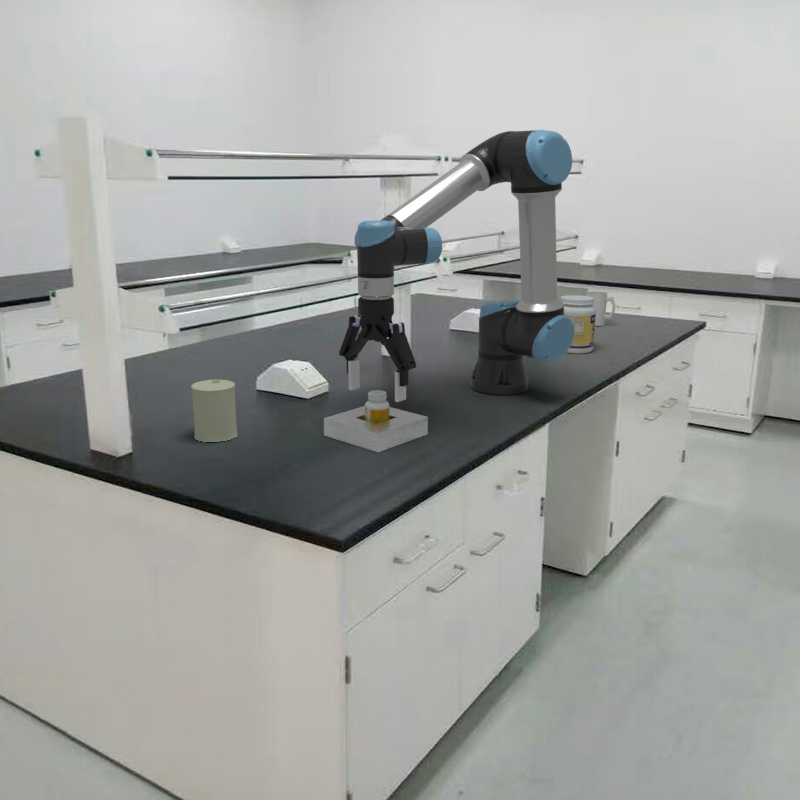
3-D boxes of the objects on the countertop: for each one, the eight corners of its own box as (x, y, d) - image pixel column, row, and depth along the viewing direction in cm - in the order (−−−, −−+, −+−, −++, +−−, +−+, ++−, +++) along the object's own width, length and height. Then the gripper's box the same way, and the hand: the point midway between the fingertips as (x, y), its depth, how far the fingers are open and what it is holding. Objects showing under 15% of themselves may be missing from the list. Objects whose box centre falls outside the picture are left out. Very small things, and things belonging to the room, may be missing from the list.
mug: (584, 326, 305) (586, 293, 301) (588, 322, 310) (591, 290, 307) (611, 328, 300) (614, 295, 297) (615, 325, 306) (618, 292, 303)
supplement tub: (596, 354, 259) (600, 300, 255) (557, 354, 260) (560, 300, 255) (589, 346, 271) (592, 294, 266) (551, 345, 271) (554, 294, 267)
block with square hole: (374, 419, 193) (374, 402, 192) (427, 434, 183) (427, 416, 182) (324, 435, 181) (323, 418, 180) (377, 452, 171) (377, 433, 170)
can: (240, 429, 185) (238, 377, 182) (234, 443, 176) (231, 388, 173) (198, 429, 185) (195, 377, 182) (190, 443, 176) (186, 388, 173)
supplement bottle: (359, 434, 182) (359, 392, 179) (376, 429, 186) (376, 387, 183) (377, 440, 179) (377, 397, 176) (394, 434, 182) (394, 392, 180)
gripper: (321, 292, 179) (324, 387, 185) (409, 305, 163) (409, 409, 169) (346, 288, 184) (348, 381, 190) (433, 300, 168) (432, 401, 174)
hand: (376, 394), depth 180 cm, fingers open, 13 cm apart
